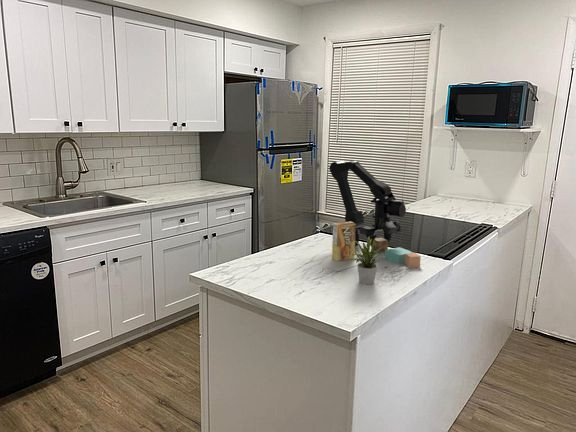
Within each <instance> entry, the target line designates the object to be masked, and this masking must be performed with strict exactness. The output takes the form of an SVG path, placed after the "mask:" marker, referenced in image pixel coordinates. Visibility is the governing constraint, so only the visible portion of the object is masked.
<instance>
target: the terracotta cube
mask: <svg viewBox="0 0 576 432" xmlns="http://www.w3.org/2000/svg"><path fill="white" fill-rule="evenodd" d="M404 265H405V266H407V267H408V268H420V267H421V255H420V254H418V253H417V252H413V253H405V263H404Z"/></svg>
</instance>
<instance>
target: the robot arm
mask: <svg viewBox="0 0 576 432" xmlns="http://www.w3.org/2000/svg"><path fill="white" fill-rule="evenodd" d="M328 167H329V172H330V175H331V177H332V178H333V179H334V180H335V181H336V183H337V186H338V189H339V193H340V196H341V199H342V201H343V206H344V209H345V215H344V221H345V222H350V221H351V222H354V223H356V231H355V241H357V242H358V243H359V244H360V234H361V235H364V236H365V237H366V239H367V240H368V237H370V240H371V239H372V240H371V244H370V249H371V248H372V244H373V241H374V245H375V238H377V235H376V232H378V233H379V232H383V239H386V240H388V245H389V244H390V242H391V240H392V237H393V236H394V235H395V234H397V233H399V232H401V231H402V230H401V229H402V227H401V225H400V222H399V220H396V221H395V220H394V221H391V216H392V217H398V218H403V217H404V216H405V214H406V213H407V212H406V211H407V208H406V205H405V204H404V202H405V201H404V200H397V199H396V197H395V196H394V194H393V192H392V188H391V186H390V185H389V184H387V183H386V182H383V181H381V180H379V179H377V178H376V177H375V176H374V175H373V174H372V173H370V172H369V171H368V169H366V168H365V167H364V166H363V165H362V164H360V162H359V161H358V160H353V161H347V162H345V161H344V160H339V161H333V162H331V163H330V166H328ZM349 171H351V172H352V173H353V174H355V176H357V178H359V179H360V180H361V181H362V182H363V183H364V184H365V185H366V186H367V187H368V188H369V190H370V193H371V194H372V196H374V198H373V199H372V200H370V203H373V204H374V214H372V218H373V220H374V221H373V223H372V227H371V226H369V225H365V226H364V224H365V217H364V214H363V210H359V209H358V208H357V206H356V204H355V199H354V196H353V193H352V190H351V187H350V183H349V180H348V176H349ZM355 246H359V245H358V244H357V243H356V242H355ZM373 248H374V247H373Z"/></svg>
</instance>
